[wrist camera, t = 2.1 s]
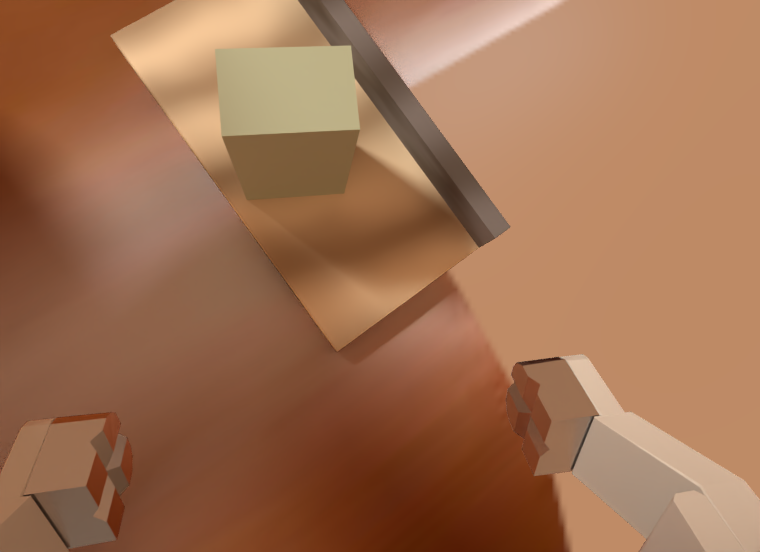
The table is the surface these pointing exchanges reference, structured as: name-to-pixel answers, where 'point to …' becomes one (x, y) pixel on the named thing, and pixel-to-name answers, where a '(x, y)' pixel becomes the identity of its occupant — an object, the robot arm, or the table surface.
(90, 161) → the table surface
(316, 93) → the carton
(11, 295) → the table surface
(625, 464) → the robot arm
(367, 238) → the shelf
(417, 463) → the table surface
